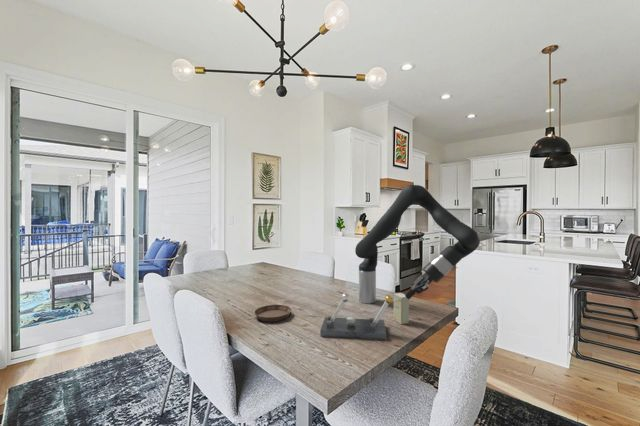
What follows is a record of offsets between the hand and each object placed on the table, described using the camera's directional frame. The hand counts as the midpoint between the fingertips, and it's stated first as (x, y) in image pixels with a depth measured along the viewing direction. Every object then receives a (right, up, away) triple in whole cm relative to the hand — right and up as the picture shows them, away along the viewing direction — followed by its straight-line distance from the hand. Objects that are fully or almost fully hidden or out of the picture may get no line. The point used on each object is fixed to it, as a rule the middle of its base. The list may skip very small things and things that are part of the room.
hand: (406, 297), depth 121 cm
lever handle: (-13, -13, +2) cm, 19 cm away
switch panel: (-21, -15, +4) cm, 26 cm away
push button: (-22, -13, +4) cm, 26 cm away
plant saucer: (-58, -16, +21) cm, 64 cm away
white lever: (-31, -13, +5) cm, 34 cm away
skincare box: (+1, -15, +13) cm, 20 cm away
